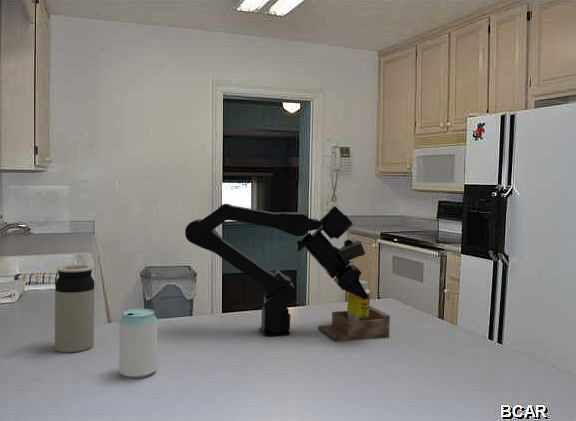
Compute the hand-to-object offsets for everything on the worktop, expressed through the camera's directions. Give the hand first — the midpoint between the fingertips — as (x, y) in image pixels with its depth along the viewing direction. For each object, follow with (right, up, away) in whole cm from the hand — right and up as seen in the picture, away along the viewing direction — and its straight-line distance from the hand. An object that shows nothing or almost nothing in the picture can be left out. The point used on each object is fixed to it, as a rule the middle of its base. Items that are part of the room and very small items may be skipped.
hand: (364, 295), depth 128 cm
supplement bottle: (-2, -7, 0) cm, 7 cm away
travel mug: (-67, -9, -17) cm, 70 cm away
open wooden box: (-3, -10, 0) cm, 10 cm away
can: (-49, -10, -31) cm, 59 cm away
